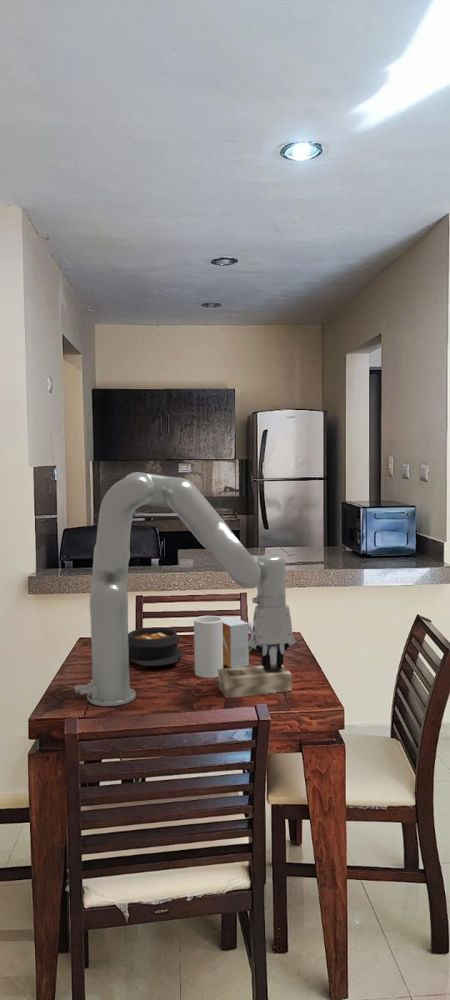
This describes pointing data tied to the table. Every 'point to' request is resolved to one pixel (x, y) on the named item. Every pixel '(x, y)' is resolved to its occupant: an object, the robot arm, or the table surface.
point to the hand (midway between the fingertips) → (272, 667)
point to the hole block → (253, 681)
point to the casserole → (154, 646)
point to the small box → (235, 643)
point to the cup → (208, 646)
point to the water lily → (250, 633)
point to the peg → (272, 658)
